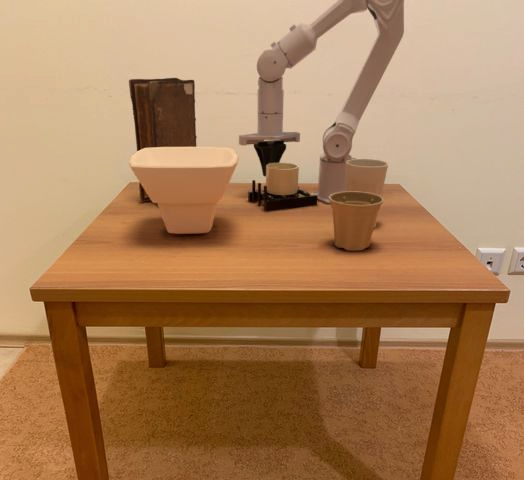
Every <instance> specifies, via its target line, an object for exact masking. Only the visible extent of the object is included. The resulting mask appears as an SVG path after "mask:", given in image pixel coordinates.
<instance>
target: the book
mask: <svg viewBox="0 0 524 480" xmlns="http://www.w3.org/2000/svg"><path fill="white" fill-rule="evenodd" d="M128 87H129V96H130V101H131V105H132V106H131V107H132V115H133V121H134V133H135V134H134V135H135V142H136V144H135V145H136V152H137V151H139V150H141V149H143V148H152V147H197V128H196V124H197V123H196V121H197V119H196V99H195V98H196V95H195V94H196V93H195V90H196V88H195V87H196V85H195V80H194V79H180V78H178V77H166V78H131V79H129V80H128ZM138 183H139V185H138V190H139V201H140V202H142V203H143V202H147V201H150V200H151V199H150V198H149V196H148V194H147V193H146V191H145V190H144V188H143V187H142V185H141V183H140V182H138Z"/></svg>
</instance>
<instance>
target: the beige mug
mask: <svg viewBox="0 0 524 480" xmlns="http://www.w3.org/2000/svg"><path fill="white" fill-rule="evenodd" d="M299 171H300V166H299V165H298V164H296V163H292V162H279V163H270V164H267V165H266V177H265V186H267V193H270V194H274V195H291V194H295V193H297V190H298V187H299V173H300V172H299Z"/></svg>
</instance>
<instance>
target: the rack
mask: <svg viewBox="0 0 524 480" xmlns="http://www.w3.org/2000/svg"><path fill="white" fill-rule="evenodd" d="M251 183H252V184H251V186H252V187H251V190H250V191H247V201H248V202H249V203H252V204H256V202H257V206H258V207H262V202H263V210H264V212H273V211H281V210H289V209H298V208H304V207H314V206H318V199H317V198H318V195H310V194H311V193H309V192H308V191H305V190H304V189H300V187H299V186H298V190H297V193H295V194H291V195H274V194H270V193H267V186H266V185H264V186H263V189H262V183H261V182H257V189H256V180H255V179H252V181H251Z"/></svg>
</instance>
